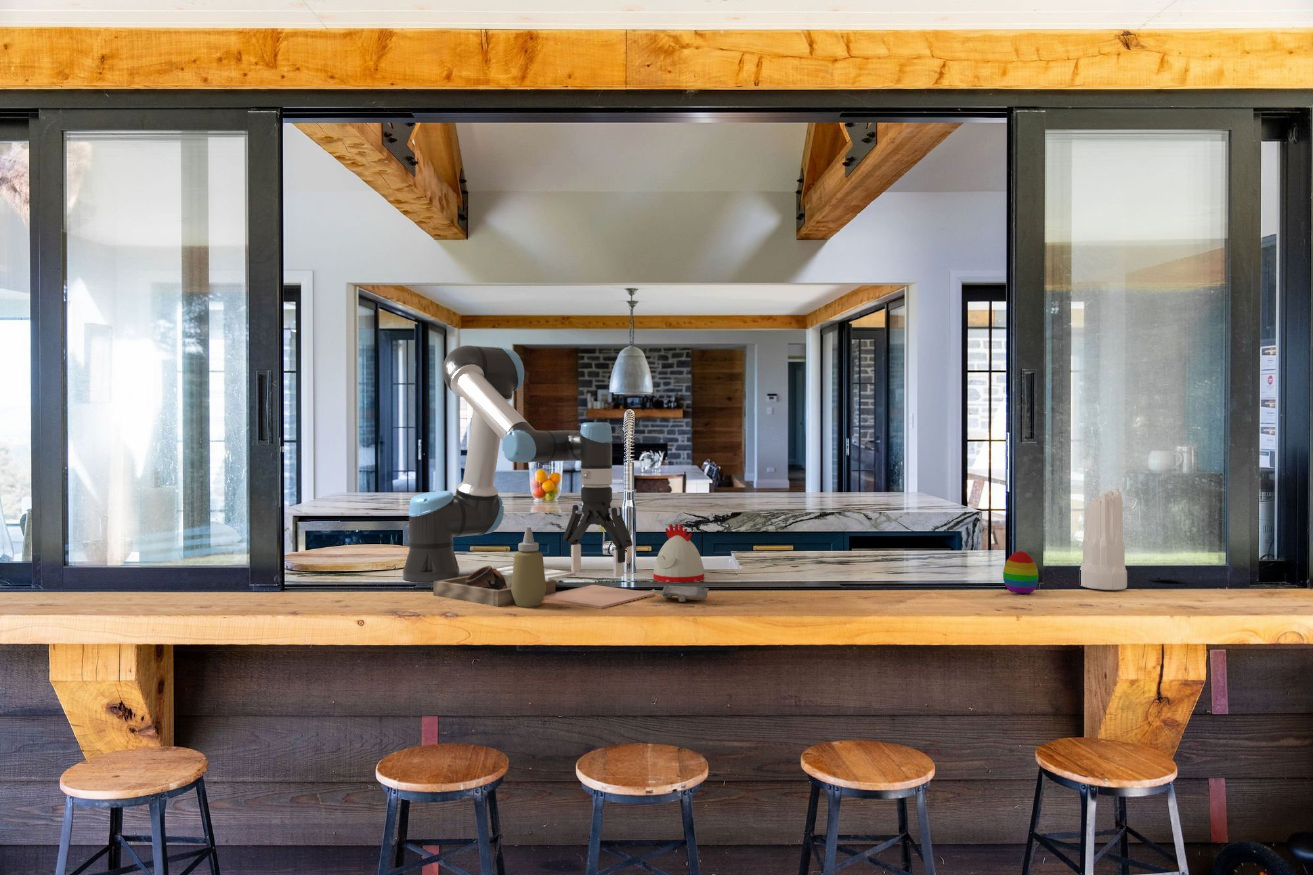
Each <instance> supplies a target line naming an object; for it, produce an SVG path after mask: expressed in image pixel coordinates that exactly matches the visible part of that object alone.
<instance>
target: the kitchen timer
mask: <svg viewBox="0 0 1313 875" xmlns="http://www.w3.org/2000/svg"><path fill="white" fill-rule="evenodd" d="M683 526H684V525H683V523H680V524H678V523H675V524H674V526H673V523H670V524H669V528H668V527H665V532H666V535H667V538H668V540H666V542H665V543H663V545H662V547H660V550H659V551H658V554H657V557H656V561H655V564H654V567H653V580H654V581H657V582H660V583H667V582H693V583H698V582H697V581H699V582H702V581H701V580H703V581H704V580H705V569H704V568H705V567H704V563H703V560H702V556H701V555H700V553H699V550H698V548H697V547H696V545H695V544H694V543H693V542H692V541H691V536H692V532H690V533H688V534H687V532H688V528H683Z"/></svg>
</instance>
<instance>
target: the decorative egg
mask: <svg viewBox="0 0 1313 875" xmlns="http://www.w3.org/2000/svg"><path fill="white" fill-rule="evenodd" d="M1002 577H1003V578H1002V579H1003V582H1004V585H1005V587H1006V589H1007V590H1008V591H1009V592H1012V593H1018V594H1031V593H1033V592H1034V591H1035V589H1036V588H1037V586H1038V583H1039V570H1038V567H1037V564H1036V562H1035V561H1034V558H1032V556H1031V555H1029V554H1028V553H1027V552H1025V551H1022V550H1020V551H1019V550H1018V551H1015V552H1014V553H1012V554H1011V555H1010V556H1009V557H1008V559H1006V562H1005V564H1004V567H1003V572H1002Z"/></svg>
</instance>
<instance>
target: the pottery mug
mask: <svg viewBox="0 0 1313 875" xmlns="http://www.w3.org/2000/svg"><path fill="white" fill-rule="evenodd" d="M497 569H498V568H495V567H494V568H493V567H492V566H491V565H486V566H483V567H481V568H478V569H477V570H476V571H473V573H472V574H470V575H468V576H469V577H468V579H467V580H466V581H465V582H466V583H467V585H468V586H475V587H482V588H486V587H484V580H487V582H488V583H489V586H490V587H489V589H494V590H501V589H506V588H507V585H506V581H505V579H504V577H503V576H502V574H501V573H500V572H499V571H498V570H497Z"/></svg>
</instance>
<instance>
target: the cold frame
mask: <svg viewBox="0 0 1313 875" xmlns="http://www.w3.org/2000/svg"><path fill="white" fill-rule="evenodd" d="M496 569H497V570H498V571H499V572H500V573H501V574H502V576H503V577H504V579H505V581H506V585H507V588H506V589H501V590H500V589H497V590H494V589H490V587H489V583H488V582H487V580H484V587H485V588H482V587H475V586H468V585H467V583H466V582H465V581H466V580H467V579H468V577H469V576H470V575H465V576H459V577H458V578H452V579H446V580H440V581H434V582H432V585H433V586H432V587H433V589H432V590H433V591H432V592H433V593H432V594H433V596H434V597H440V598H446V599H450V600H457V601H461V602H462V601H464V602H467V601H468V602H469V603H474V604H480V605H485V604H486V605H485V606H492V607H497V608H498V607H503V606H508V605H513V604H515V601H514V598H513V595H512V592H511V586H512V575H513V565H511V566H505V567H500V568H496ZM544 572H545V582H546V591H545V594H544V595H547V594H552V593H556V580H559V579H564V578H565V579H566V578H570V577H575V576H576V575H577V574H576V572H577V571H575V572H571V571H567V570H558V569H551V568H545V567H544ZM468 602H467V603H468Z"/></svg>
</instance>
